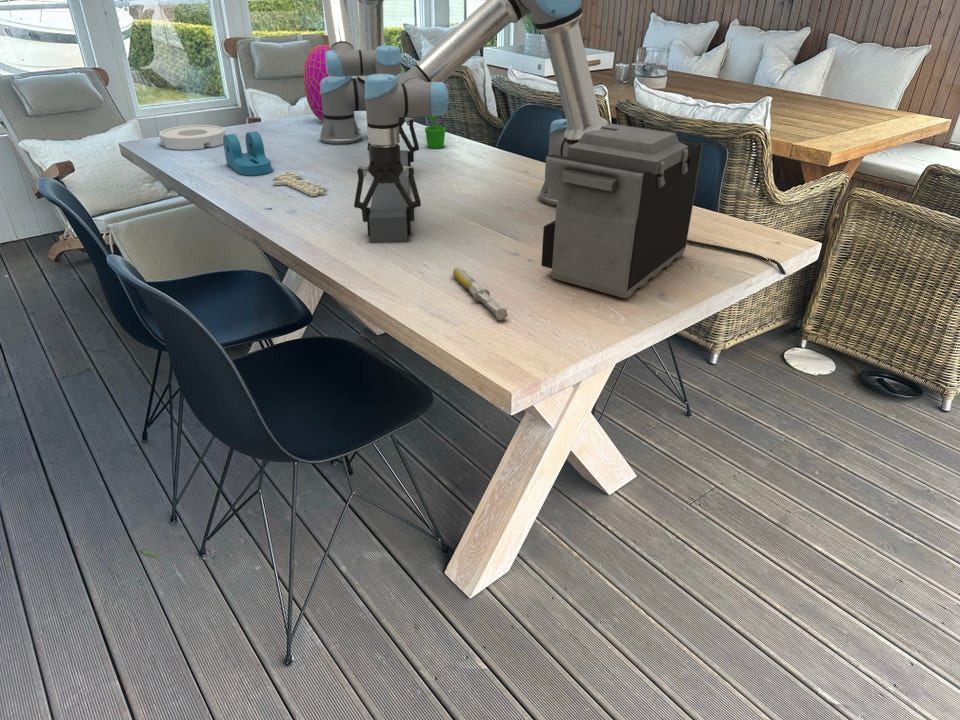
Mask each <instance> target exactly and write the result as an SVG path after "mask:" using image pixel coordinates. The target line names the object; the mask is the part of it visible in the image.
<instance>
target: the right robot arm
mask: <svg viewBox="0 0 960 720" xmlns="http://www.w3.org/2000/svg"><path fill="white" fill-rule="evenodd" d="M582 1H583V0H485V1H484V2H483V3H482V4H480V6H479V7H477V8H476V9H475V10H474V11H473V12H472V13H471V14H470V15H468V17H467V18H465V19H464V20H463V21H462V22H461V23H460V24H459V25H458V26H456V27H455V28H454V29H453V30H452V31H451V32H450V33H449V34H447V35H446V36H445V37H444V38H443V39H442V40H441V41H440V42H439V43H438V44H437V45H435V46H434V47H433V48H432V49H431V50H430V51H428V52H427V53H426V54H425V55H424V56H423V57H422V58H421V59H419V60H418V62H416V63H415V64H414V65H413V66H412V67H411V68H409V69H408V70H407V71H403V72H401V73H400V74H398V75H397V76H394V75H391V74H373V75H369V76H367V77H366V79H365V96H364V97H365V103H366V111H365V113H366V114H365V115H366V129H367V130H366V131H367V144H368V143H370V145H369V151H368V159H369V164H368V165H367V166H361V165H359V166H358V167H357V178H358V179H357V185H356V186H357V187H356V191H355V197H354V203H353V204H354V205H353V207H354V208H355V209H359V210H361V216H362V217H361V218H362V222H363V223H367V224H366V225H367V235H368V236H369V237H370V227H369V213H370V207H371V206H370V207H368V206H369V204H370V203H371V201H372V195H373V193H374V191H375V189H376V187H377V185H378V183H380V184H384V183H389V184H393V183H394V184H395V185H396V187H397V188H398V190H399V192H400V193H401V195H402V197H403V198H404V200H405V202H406V203H407V205H408V207H406V213H407V235H408V236H410V235H411V222H414V221H415V209H416V208H419V207H421V206H422V200H421V197H420V194H419V190H418V186H417V183H416V180H415V177H414V174H415V173H414V172H415V170H414V169H415V168H414V165H411V166H409V167H407V166H403V165H402V164H401V156H400V150H401V145H400V142H401V141H400V139H401V138H400V137H401V135H400V133H399V118H400V117H405V118H414V117H415V118H416V117H417V118H418V117H428V116H432V117H433V116H436V117H437V116H444V115H445V114H446V113H447V112H448V110H449V104H450V103H449V101H450V99H449V91H448V89H447V87H446V85H445V84H446V83H445V81H446V80H447V79H448V78H450V76H452V75H453V74H454V73H455V72H456V71H457V70H458V69H460V68H461V67H462V66H463V65H464V64H465V63H467V62H468V61H469V60H470V59H471V58H472V57H473V56H474V55H475V54H477V53H478V52H479V51H480V50H481V49H482V48H483V47H485V45H487V44H488V43H489V42H490V41H491V40H492V39H494V37H496V36H497V35H498V34H499V33H500V32H502V30H504V29H505V28H506V27H507V26H508V25H509V24H511V23H512V24H517V23H519V21H521V19H522V18H524V17H525V16H528V15H529V14H531V17H532V21H533V23H534V27H535V30H536V31H537V32H539V33H541V34H542V35H543V37H544V40H545V44H546V48H547V52H548V56H549V59H550V63H551V67H552V70H553V74H554V78H555V82H556V85H557V86H556V87H557V89H558V95H559V97H560V101H561V105H562V109H563V112H564V116H565V118H560V119H554V120H552V122H551V124H550V127H549V128H550V129H549V133H548V136H549V141H548V142H549V143H548V156H550V155H552V154H553V155H559V156H565V157H567V152H568V146H570V145H573V144H575V143H577V142H578V141H579V140H580V138H581V137H582V135H583V134H584V133H586V132H589V131H591V130H599V129H601V127H602V126H605V125H608V124H609V122H608V120H607V119H605V118H604V117H602V116H601V115H600V110H599V105H598V100H597V97H596V92H595V88H594V84H593V83H594V82H593V80H592V74H591V71H590V67H589V61H588V58H587V54H586V50H585V45H584V41H583V37H582V32H581V28H580V20H581V18H582V16H583V14H584V10H583V7H582ZM444 83H445V84H444ZM402 171H404V172H405V174H406V176H408V178H409V181H408V183H409V185H410V189H411V193H412V196H413V199H414V201H413V200H412V198H411V195H410V194H409V192H408V193H407V191H406V189H405V188H404V186H403V184H402V182H401V180H400V178H399V176H400V174H401V173H402ZM367 173H369V174H370V175H371V176H372V177H373V179H372V182H371V184H370V186H369V189H368V191H367V193H366V195H365V197H364V199H363V202H362V201H361V196H362V191H363V185H364V180H365V177H366V176H367ZM539 200H540V202H542V203H543V204H546V205H549V206H553V207H556V206H557V203H558V200H557V199H556V197H555V195H554V193H553V192H552V190H551V188H550V187H549V185H548V183H547V182H546V180H545V179H544V181H543V184H542V187H541V189H540V191H539ZM686 244H690V245H695V246H700V247H705V248H710V249H715V250H720V251H725V252H730V253H735V254H740V255H745V256H749V257H751V258H756V259H758V260H761V261H765V262H769V263H772V262H773V263H772V264H774V263H775V264H777V266H776V268H778V269H779V271H780V273H781V275H787V273H786V271H785V269H784V267H783V266H782V264H781V263H780V262H779V261H777V260H776V259H773V258H770V257H766V258H767V259H768V260H767V259H766V258H764V257H765V256H762V255H760V254H757V253H753V252H749V251H746V250H741V249H735V248H730V247H726V246H722V245H721V246H720V245H716V244H711V243H706V242H702V241H701V242H700V241H696V240H692V239H687V243H686ZM769 260H770V261H771V262H770V261H769ZM775 264H774V265H775Z"/></svg>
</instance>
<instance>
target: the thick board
mask: <svg viewBox="0 0 960 720" xmlns="http://www.w3.org/2000/svg"><path fill="white" fill-rule="evenodd" d="M408 151H409V149H406V150H405V149H400V156H401V164H402V165H403V166H407V167H408ZM399 178H400V180H401V182H402V184H403V186H404V188H405V189H406V191H407V193H408V194H409V178H408V176H406V174H405V172H404V171H402V173H401V174H400V176H399ZM406 207H408V205H407V203H406V202H405V200H404V198H403V197H402V195H401V193H400V192H399V190H398V188H397V187H396V185H395V184H394V183H393V184H389V183H384V184H380V183H378V185H377V187H376V189H375V191H374V193H373V195H372V198H371V200H370V213H369V227H370V236H369V237H370V238H369V239H370V243H401V242H405V243H406V242H407V243H408V237H409V235H407V213H406Z"/></svg>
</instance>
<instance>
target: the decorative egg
mask: <svg viewBox="0 0 960 720" xmlns="http://www.w3.org/2000/svg"><path fill="white" fill-rule="evenodd" d="M326 51H330V46H329V44H318V45H315V46H313V47H311V49H309V51H308V54H307V56H306V58H305V61H304V65H303V90H304V94H305V98H306V101H307V104H308V106H309V108H310V110H311V112H312V113H313V114H314V116H315V117H316V118H317V119H318V120H319V121H321V122H323V121H324V118H323V108H322V96H321V93H320V91H321V86H320V83H321V80H322V79H323V78H325V77H328V76H329V75H328V74H327V70H326V62H325V52H326Z"/></svg>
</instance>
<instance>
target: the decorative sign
mask: <svg viewBox="0 0 960 720" xmlns="http://www.w3.org/2000/svg"><path fill="white" fill-rule="evenodd" d="M301 179H302V176H301V174H295V172H293V171H285V173H283V174H282V173H281V174H276V175H274V181H273V185H274V186H283V185H284V186H288V187H291V188H293V189H295V190H297V191H300V192H303V194H305V195H309V196H310V197H317V196H319V195H320V196H323V195H325V191H326V186H325V185H324V186H321V184H318V183H317V184H316V183H315V184H312V182H311V181H310V180H305V179H303V180H301Z"/></svg>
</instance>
